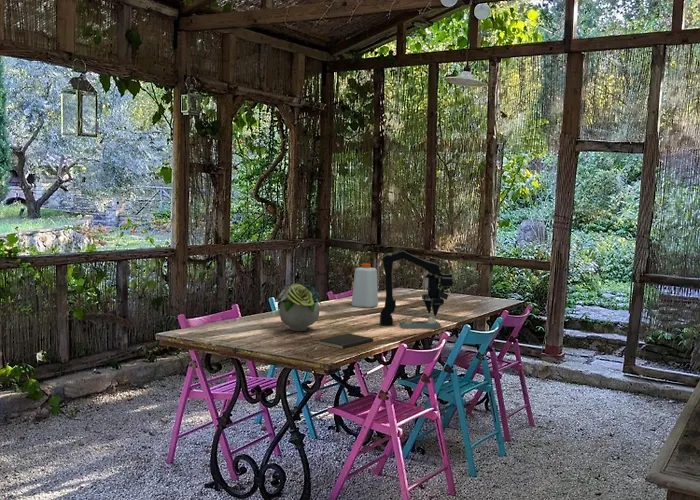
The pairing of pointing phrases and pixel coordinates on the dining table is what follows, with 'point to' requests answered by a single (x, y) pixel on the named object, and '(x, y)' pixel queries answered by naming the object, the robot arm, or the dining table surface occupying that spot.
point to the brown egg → (407, 320)
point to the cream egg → (431, 320)
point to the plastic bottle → (365, 287)
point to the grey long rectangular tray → (419, 325)
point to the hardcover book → (345, 341)
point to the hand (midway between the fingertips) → (432, 314)
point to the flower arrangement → (298, 306)
